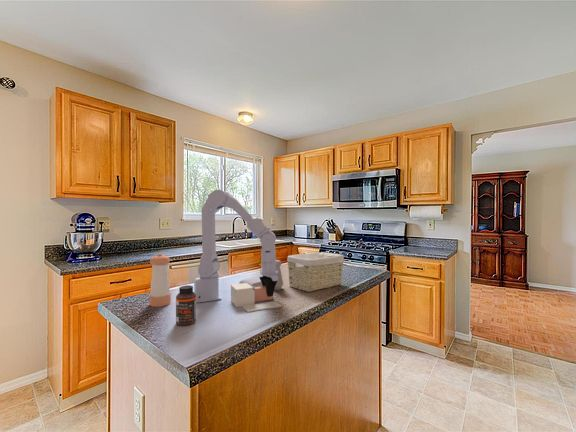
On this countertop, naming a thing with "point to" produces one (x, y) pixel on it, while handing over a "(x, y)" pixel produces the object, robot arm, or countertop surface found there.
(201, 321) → the countertop surface
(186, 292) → the supplement bottle
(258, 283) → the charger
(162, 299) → the salt shaker
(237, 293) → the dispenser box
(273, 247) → the robot arm
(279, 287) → the salt shaker
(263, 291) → the pink rectangular block
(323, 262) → the storage basket
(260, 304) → the mat
